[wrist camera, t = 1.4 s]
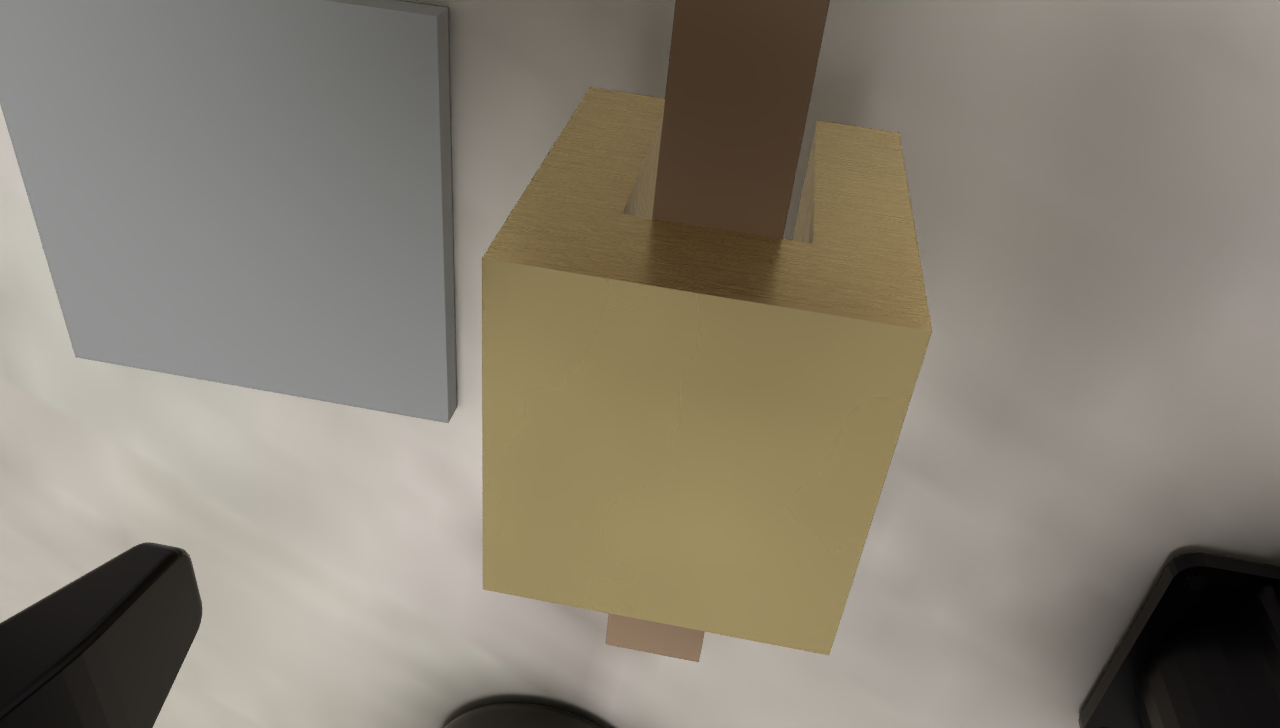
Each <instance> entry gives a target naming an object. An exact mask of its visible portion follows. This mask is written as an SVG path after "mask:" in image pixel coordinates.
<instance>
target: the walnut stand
mask: <svg viewBox="0 0 1280 728" xmlns="http://www.w3.org/2000/svg"><path fill="white" fill-rule="evenodd" d="M829 2H830V0H676V4H675V14H674V23H673V32H672V41H671V50H670V59H669V68H668V77H667V87H666V96H665V105H664V114H663V123H662V132H661V141H660V150H659V160H658V169H657V178H656V187H655V196H654V205H653V214H652V219H658V220H664V221H670V222H677V223H683V224H690V225H696V226H702V227H709V228H715V229H721V230H728V231H734V232H741V233H747V234H753V235H760V236H766V237H772V238H779V239H783V234H784V229H785V224H786V219H787V214H788V209H789V203H790V198H791V193H792V188H793V183H794V178H795V173H796V168H797V163H798V158H799V153H800V148H801V143H802V138H803V133H804V128H805V123H806V118H807V113H808V108H809V103H810V97H811V92H812V87H813V82H814V77H815V72H816V67H817V62H818V57H819V52H820V47H821V42H822V37H823V32H824V27H825V22H826V17H827V12H828V7H829ZM704 633H705V631H699V630H694V629H689V628H684V627H678V626H673V625H668V624H663V623H657V622H652V621H647V620H642V619H636V618H631V617H626V616H621V615H615V614H610V613H609V616H608V625H607V634H606V643H605V644H607V645H613V646H618V647H623V648H628V649H633V650H638V651H644V652H649V653H654V654H659V655H664V656H669V657H675V658H680V659H685V660H690V661H695V662H699V658H700V653H701V648H702V643H703V638H704Z"/></svg>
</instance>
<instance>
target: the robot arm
mask: <svg viewBox="0 0 1280 728" xmlns="http://www.w3.org/2000/svg"><path fill="white" fill-rule="evenodd" d="M1194 574H1200V575H1197V576H1195V577H1188V576H1191V575H1194ZM201 618H202V602H201V598H200V594H199V590H198V586H197V581H196V577H195V573H194V569H193V565H192V561H191V558H190V555H189V554H188V553H187V552H186V551H185V550H183V549H181V548H177V547H172V546H167V545H162V544H157V543H142V544H139V545H136V546H134V547H132V548H131V549H129V550H127V551H125V552H124V553H122V554H120V555H118V556H117V557H115V558H113V559H111V560H110V561H108V562H106V563H104V564H103V565H101V566H99V567H97V568H96V569H94V570H92V571H91V572H89V573H87V574H85V575H84V576H82V577H80V578H78V579H77V580H75V581H73V582H71V583H70V584H68V585H66V586H64V587H63V588H61V589H59V590H57V591H56V592H54V593H52V594H50V595H49V596H47V597H45V598H43V599H42V600H40V601H38V602H37V603H35V604H33V605H31V606H30V607H28V608H26V609H24V610H23V611H21V612H19V613H17V614H16V615H14V616H12V617H10V618H9V619H7V620H5V621H3V622H2V623H0V728H152V727H153V725H154V723H155V721H156V719H157V717H158V715H159V712H160V710H161V708H162V706H163V704H164V702H165V700H166V698H167V695H168V693H169V691H170V689H171V687H172V685H173V683H174V680H175V678H176V676H177V674H178V672H179V670H180V668H181V666H182V663H183V661H184V659H185V657H186V655H187V653H188V651H189V648H190V646H191V644H192V642H193V640H194V638H195V636H196V634H197V631H198V629H199V626H200V622H201ZM1079 725H1080V728H1280V567H1277V566H1271V565H1266V564H1260V563H1254V562H1249V561H1243V560H1237V559H1232V558H1226V557H1220V556H1215V555H1209V554H1203V553H1187V554H1182V555H1180V556H1178V557H1176V558H1174V559H1173V560H1172V561H1171V562H1170V563H1169V564H1168V565H1167V567H1166V569H1165V570H1164V572H1163V574H1162V575H1161V577H1160V579H1159V581H1158V582H1157V584H1156V586H1155V588H1154V589H1153V591H1152V593H1151V594H1150V596H1149V598H1148V600H1147V601H1146V603H1145V605H1144V606H1143V608H1142V610H1141V612H1140V613H1139V615H1138V617H1137V618H1136V620H1135V622H1134V624H1133V625H1132V627H1131V629H1130V630H1129V632H1128V634H1127V636H1126V637H1125V639H1124V641H1123V643H1122V644H1121V646H1120V648H1119V649H1118V651H1117V653H1116V655H1115V656H1114V658H1113V660H1112V661H1111V663H1110V665H1109V667H1108V668H1107V670H1106V672H1105V673H1104V675H1103V677H1102V679H1101V680H1100V682H1099V684H1098V685H1097V687H1096V689H1095V691H1094V692H1093V694H1092V696H1091V698H1090V699H1089V701H1088V703H1087V704H1086V706H1085V708H1084V710H1083V711H1082V713H1081V715H1080V717H1079Z"/></svg>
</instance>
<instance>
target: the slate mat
mask: <svg viewBox="0 0 1280 728" xmlns="http://www.w3.org/2000/svg"><path fill="white" fill-rule="evenodd" d="M0 104H1V108H2V111H3V114H4V118H5V121H6V124H7V128H8V131H9V134H10V138H11V141H12V145H13V148H14V151H15V155H16V158H17V161H18V165H19V168H20V171H21V175H22V178H23V182H24V185H25V188H26V192H27V195H28V198H29V202H30V205H31V208H32V212H33V215H34V219H35V222H36V225H37V229H38V232H39V235H40V239H41V242H42V246H43V249H44V252H45V256H46V259H47V262H48V266H49V269H50V272H51V276H52V279H53V283H54V286H55V289H56V293H57V296H58V299H59V303H60V306H61V309H62V313H63V316H64V320H65V323H66V326H67V330H68V333H69V336H70V340H71V343H72V346H73V350H74V353H75V357H78V358H83V359H89V360H95V361H100V362H106V363H111V364H117V365H123V366H128V367H134V368H140V369H145V370H151V371H157V372H162V373H168V374H174V375H179V376H185V377H191V378H196V379H202V380H208V381H213V382H219V383H224V384H230V385H236V386H241V387H247V388H253V389H258V390H264V391H270V392H275V393H281V394H287V395H292V396H298V397H304V398H309V399H315V400H321V401H326V402H332V403H338V404H343V405H349V406H354V407H360V408H366V409H371V410H377V411H383V412H388V413H394V414H400V415H405V416H411V417H417V418H422V419H428V420H434V421H439V422H445V423H449V421H450V419H451V417H452V415H453V414H454V412H455V410H456V408H457V396H456V350H455V304H454V258H453V212H452V166H451V120H450V74H449V28H448V7H441V6H433V5H426V4H419V3H412V2H405V1H398V0H0Z"/></svg>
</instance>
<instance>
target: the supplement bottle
mask: <svg viewBox="0 0 1280 728" xmlns="http://www.w3.org/2000/svg"><path fill="white" fill-rule="evenodd" d="M444 728H601V727H599V726H597V725H596V724H594V723H592V722H590V721H588V720H586V719H584V718H582V717H579V716H577V715H574V714H572V713H569V712H566V711H563V710H559V709H556V708H552V707H547V706H542V705H536V704H527V703H499V704H492V705H486V706H483V707H479V708H476V709H473V710H470V711H468V712H466V713H464V714H462V715H460V716H458V717H457V718H455V719H454V720H452V721H451V722H450V723H449V724H447V725H446V726H445V727H444Z"/></svg>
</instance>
